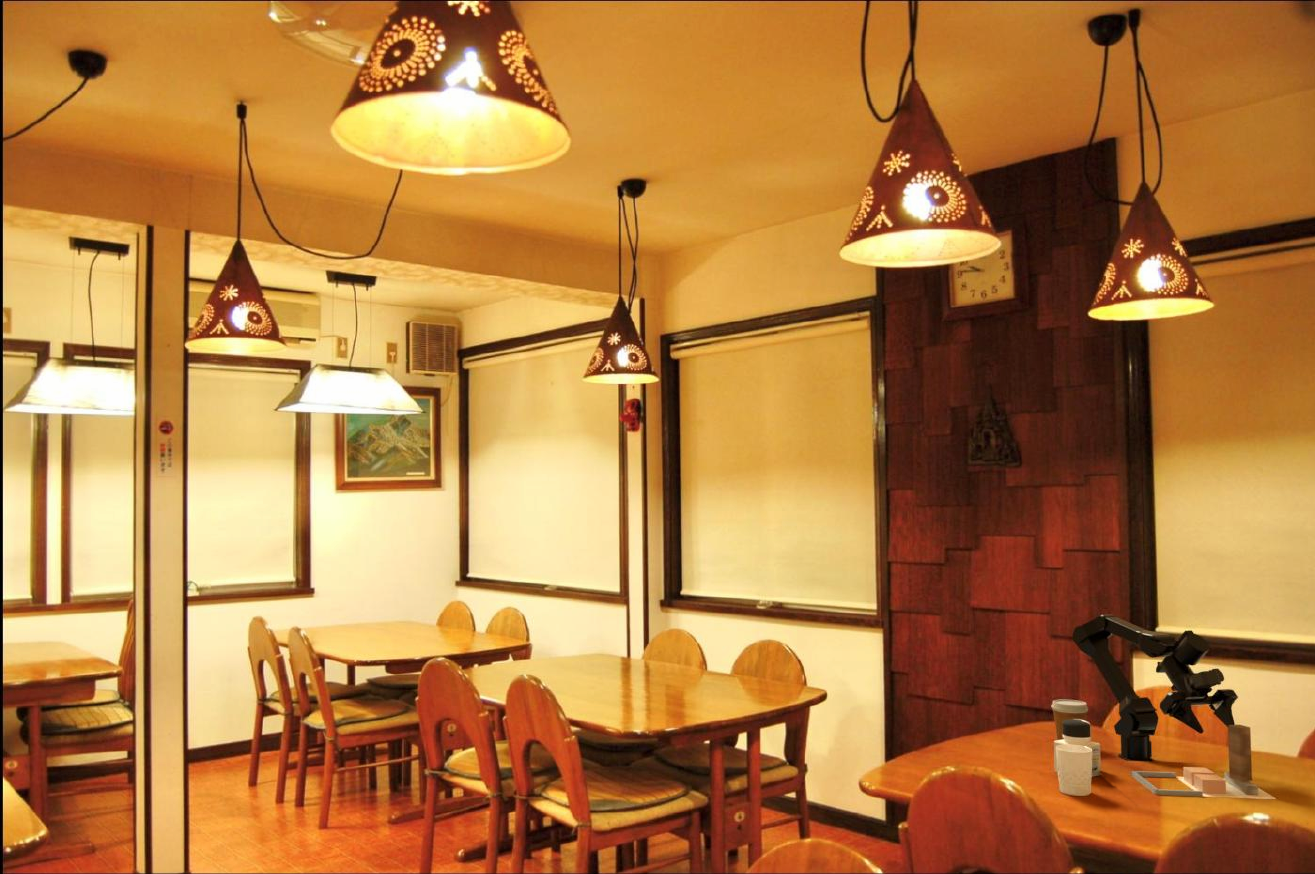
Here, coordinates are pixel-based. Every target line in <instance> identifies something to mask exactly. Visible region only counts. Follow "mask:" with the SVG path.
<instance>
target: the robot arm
mask: <svg viewBox="0 0 1315 874" xmlns="http://www.w3.org/2000/svg"><path fill="white" fill-rule="evenodd" d="M1113 635H1115V636H1117V637H1119V638H1121V639H1123V640H1125V641H1128V642H1130V643H1132V644H1134V645H1136V646H1137V647H1138V649H1139V651H1141V652H1142V653H1143V654H1145V655H1146V656H1147V657H1149V658H1151V659H1155V658H1163V660H1161V661H1157V662H1156V663H1157V665H1156V667H1155V672H1156V673H1157V674H1160V673H1163V674H1164V673H1165V675H1166V676H1167V678H1168V679H1169V681H1170V682H1171V684H1172V686H1170V689H1171V691H1169V692H1168V693H1167V694H1166V695H1165V696H1164V698H1163V699H1162V700H1161V701H1160V702H1159V709H1160V710H1161V712H1162V714H1163V715H1168V716H1169V717H1170V718H1174V719H1176V720H1177V721H1179V722H1181V723H1182V724H1184V725H1185V726H1187V727H1189V728H1191V729H1192V730H1193V731H1196V732H1197V733H1199V734H1203V733H1204V729H1203V726H1202V724H1201V723H1200V721H1199V720H1198V717H1196V715H1195V712H1194V710H1193V709H1192V706H1194V707H1195V706H1196V707H1197V706H1209V708H1210V709H1211V710H1212V711H1213V715H1215V717H1216V718H1218V720H1219V721H1221V723H1222V724H1223V725H1224V726H1225V727H1226V728H1228V725H1236V723H1235V719H1234V716H1233V711H1232V710H1233V709H1232V707H1233V705H1234V703H1235V702H1236V701H1237V700H1238V698H1239V696H1238V695H1237V693H1236V692H1235V690H1234V689H1231V688H1226V689H1225V688H1223V689H1221V688H1220V689H1217V690H1216V691H1215V692H1214V693H1213V695H1209V693H1211V692H1212V691H1213V687H1215V686H1217V685H1218V686H1220V685H1222V682H1224V681H1225V676H1224V674H1223V672H1222V671H1221V670H1220V668H1212V669H1209V670H1204V671H1200V672H1197V673H1195V672H1194V671H1193V669H1192V668H1191V667H1190V666H1196V665H1197V664H1198V663H1199V662H1200V660H1202V659H1203V658H1204V657H1205V655H1206V654H1207V653H1208V652H1209V650H1210V649H1211V646H1210V644H1209V641H1207V639H1204V637H1202V636H1201V635H1198V633H1197V634H1196V633H1194V631H1193V630H1184V631H1183V633H1182V634H1181V636H1180V637H1179V639H1176V637H1175V636H1174V635H1172V634H1171V633H1166V632H1161V631H1160V632H1159V631H1151V630H1148V629H1145V628H1143V627H1140V626H1138V625H1135V624H1133V623H1131V622H1129V621H1126V620H1124V619H1122V618H1119V617H1118V616H1117V615H1115V614H1101V615H1099V616H1097V617H1095V618H1094V619H1091V620H1090V621H1087V622H1085V623H1083V624H1081V625H1077V626H1076V627H1075V628H1074V629H1073V632H1072V640H1073V642H1074V644H1075V645H1076V646H1077V648H1078V649H1079V651H1080V652H1082V653H1083V654H1084V655H1086V656H1088V657H1089V658H1091V660H1092V661H1093V663H1094V664H1095V665H1096V668H1097V669H1098V671H1099V673H1100V674H1101V675H1102V677H1103V679H1104V681H1105V683H1106V684H1107V685H1108V687H1109V689H1110V691H1111V692H1112V694H1113V695H1114V697H1115V699H1116V701H1117V702H1118V715H1119V716H1120V718H1119V720H1118V721H1117V722H1116V723H1115V724H1114V726H1113V728H1114V732H1115V734H1116V735H1119V736H1120V753H1118V754H1117V756H1118V757H1120V758H1122V759H1124V760H1126V761H1129V762H1154V761H1155V760H1154V758H1152V756H1153V754H1152V753H1153V751H1152V750H1153V749H1152V741H1151V739H1150V738H1151V737H1150V736H1155V734H1156V729H1157V727H1158V723H1159V715H1158V713H1157V711H1158V709H1156V708H1155V706H1154V705H1153V703H1152V700H1151V699H1150V698H1148V697H1144V696H1143V697H1140V696H1139V695H1138V694H1137V693H1136V692H1135V690H1134V688H1133V687H1132V685H1131V684H1130V682H1129V680H1128V679H1127V678H1126V676H1125V673H1123V671H1122V669H1121V667H1120V666H1119V664H1118V662H1117V661H1116V659H1115V658H1114V657H1113V655H1112V653H1111V652H1110V640H1109V638H1110V637H1111V636H1113Z"/></svg>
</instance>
